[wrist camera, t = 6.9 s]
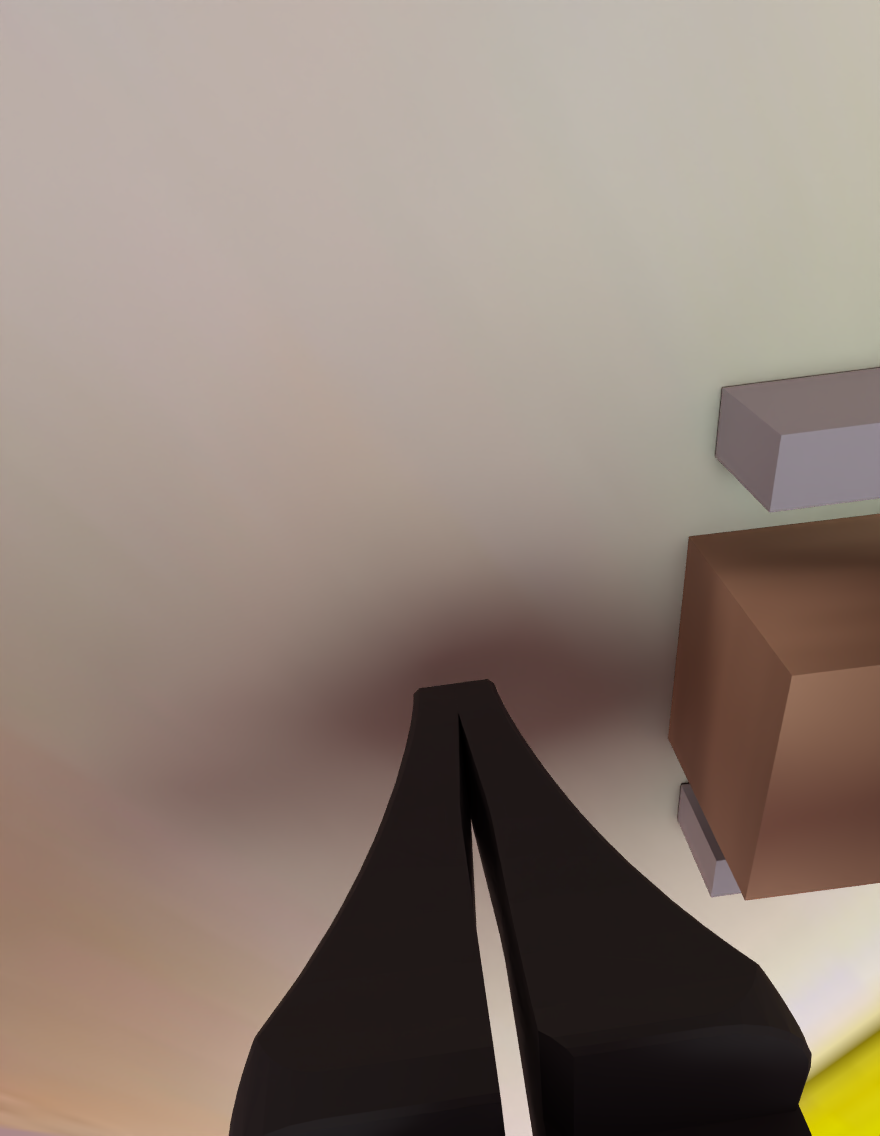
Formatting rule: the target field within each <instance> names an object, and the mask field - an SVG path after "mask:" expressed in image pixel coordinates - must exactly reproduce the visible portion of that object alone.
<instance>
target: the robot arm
mask: <svg viewBox="0 0 880 1136" xmlns="http://www.w3.org/2000/svg"><path fill="white" fill-rule="evenodd" d="M471 821H472V825H473V829H474V833H475V837H476V841H477V845H478V849H479V853H480V858H481V862H482V866H483V869H484V873H485V877H486V881H487V885H488V889H489V893H490V897H491V901H492V905H493V909H494V913H495V917H496V921H497V925H498V929H499V933H500V938H501V943H502V947H503V952H504V957H505V962H506V968H507V975H508V981H509V987H510V993H511V999H512V1006H513V1012H514V1018H515V1025H516V1031H517V1037H518V1044H519V1050H520V1056H521V1063H522V1069H523V1075H524V1082H525V1088H526V1094H527V1101H528V1107H529V1114H530V1120H531V1127H532V1133H533V1136H812V1135H811V1132H810V1130H809V1128H808V1126H807V1123H806V1121H805V1119H804V1116H803V1114H802V1112H801V1109H800V1107H799V1105H798V1104H799V1101H800V1098H801V1095H802V1092H803V1089H804V1086H805V1083H806V1080H807V1077H808V1074H809V1071H810V1068H811V1055H812V1053H811V1052H810V1050H809V1048H808V1045H807V1043H806V1040H805V1037H804V1035H803V1033H802V1031H801V1029H800V1027H799V1025H798V1024H797V1022H796V1020H795V1019H794V1017H793V1015H792V1014H791V1012H790V1010H789V1009H788V1007H787V1005H786V1004H785V1002H784V1001H783V999H782V997H781V996H780V994H779V993H778V991H777V990H776V988H775V987H774V985H773V984H772V982H771V981H770V980H769V978H768V977H767V975H766V974H765V972H764V971H763V970H762V968H761V967H760V966H759V965H758V964H757V963H756V962H754V961H753V960H751V959H750V958H748V957H747V956H745V955H744V954H742V953H741V952H740V951H738V950H737V949H735V948H734V947H732V946H731V945H730V944H728V943H727V942H725V941H724V940H723V939H721V938H720V937H719V936H717V935H716V934H715V933H713V932H712V931H710V930H709V929H708V928H706V927H705V926H704V925H702V924H701V923H700V922H699V921H697V920H696V919H695V918H694V917H692V916H691V915H690V914H688V913H687V912H686V911H685V910H683V909H682V908H681V907H680V906H678V905H677V904H676V903H675V902H673V901H672V900H671V899H670V898H669V897H668V896H666V895H665V894H664V893H663V892H662V891H661V890H660V889H658V888H657V887H656V886H655V885H654V884H653V883H652V882H650V881H649V880H648V879H647V878H646V877H645V876H644V875H642V874H641V873H640V872H639V871H638V870H637V869H636V868H634V867H633V866H632V865H631V864H630V863H629V862H628V861H627V860H626V859H625V858H624V857H623V856H622V855H621V854H620V853H619V852H618V851H617V850H616V849H615V848H614V847H613V846H612V845H611V844H610V843H609V842H608V841H607V840H606V839H605V838H604V837H603V836H602V835H601V834H600V833H599V832H598V831H597V830H596V829H595V828H594V827H593V826H592V825H591V824H590V823H589V821H588V820H587V819H586V818H585V817H584V816H583V815H582V814H581V813H580V811H579V810H578V809H577V808H576V807H575V806H574V804H573V803H572V802H571V801H570V800H569V799H568V797H567V796H566V795H565V794H564V792H563V791H562V790H561V789H560V787H559V786H558V785H557V784H556V783H555V781H554V780H553V779H552V777H551V776H550V775H549V773H548V772H547V771H546V769H545V768H544V767H543V765H542V764H541V763H540V761H539V760H538V758H537V757H536V755H535V754H534V753H533V751H532V750H531V748H530V747H529V746H528V744H527V743H526V741H525V740H524V738H523V737H522V735H521V734H520V732H519V730H518V729H517V727H516V725H515V724H514V722H513V721H512V719H511V717H510V715H509V714H508V712H507V710H506V708H505V707H504V705H503V703H502V701H501V699H500V697H499V694H498V692H497V690H496V688H495V685H494V683H492V682H491V681H489V680H488V679H485V680H478V681H471V682H463V683H456V684H449V685H441V686H434V687H427V688H419V689H418V690H417V691H416V692H415V693H414V704H413V713H412V720H411V726H410V731H409V735H408V740H407V744H406V748H405V752H404V755H403V759H402V762H401V766H400V769H399V773H398V776H397V780H396V783H395V786H394V789H393V792H392V794H391V797H390V800H389V803H388V805H387V808H386V811H385V814H384V816H383V819H382V822H381V824H380V827H379V829H378V832H377V834H376V837H375V839H374V841H373V844H372V846H371V848H370V850H369V853H368V855H367V857H366V859H365V861H364V863H363V865H362V868H361V870H360V872H359V874H358V876H357V878H356V880H355V882H354V884H353V885H352V887H351V889H350V891H349V893H348V895H347V897H346V899H345V901H344V903H343V905H342V907H341V908H340V910H339V912H338V914H337V915H336V917H335V919H334V921H333V922H332V924H331V926H330V928H329V929H328V931H327V932H326V934H325V936H324V937H323V939H322V940H321V942H320V944H319V945H318V947H317V948H316V950H315V952H314V953H313V955H312V956H311V958H310V960H309V961H308V963H307V964H306V966H305V968H304V969H303V971H302V972H301V974H300V975H299V977H298V978H297V980H296V981H295V983H294V984H293V985H292V987H291V988H290V990H289V991H288V992H287V994H286V995H285V996H284V998H283V999H282V1001H281V1002H280V1003H279V1005H278V1006H277V1007H276V1009H275V1010H274V1012H273V1013H272V1014H271V1016H270V1017H269V1018H268V1020H267V1021H266V1023H265V1024H264V1025H263V1027H262V1028H261V1029H260V1031H259V1032H258V1033H257V1035H256V1036H255V1038H254V1041H253V1044H252V1046H251V1049H250V1052H249V1055H248V1058H247V1061H246V1064H245V1067H244V1070H243V1074H242V1077H241V1081H240V1084H239V1087H238V1091H237V1095H236V1100H235V1104H234V1108H233V1113H232V1118H231V1123H230V1131H229V1136H505V1130H504V1122H503V1113H502V1105H501V1097H500V1090H499V1083H498V1076H497V1069H496V1062H495V1055H494V1047H493V1041H492V1034H491V1027H490V1020H489V1013H488V1006H487V999H486V993H485V986H484V979H483V972H482V965H481V958H480V951H479V944H478V937H477V930H476V910H475V891H474V871H473V852H472V833H471Z"/></svg>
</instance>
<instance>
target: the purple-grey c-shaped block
mask: <svg viewBox="0 0 880 1136" xmlns="http://www.w3.org/2000/svg"><path fill="white" fill-rule="evenodd" d="M715 457H716V458H717V459H718V460H719V461H720V462H721V463H722V464H723V465H724V466H725V467H726V468H727V469H728V470H729V471H730V472H731V473H732V474H733V475H734V476H735V478H736V479H737V480H738V481H739V482H740V483H741V484H742V485H743V486H744V487H745V488H746V489H747V490H748V491H749V492H750V493H751V494H752V495H753V496H754V497H755V498H756V499H757V500H758V501H759V502H760V503H761V504H762V505H763V506H764V507H765V508H766V509H767V510H768V511H769V512H777V511H784V510H792V509H800V508H807V507H815V506H823V505H830V504H838V503H846V502H853V501H861V500H869V499H876V498H880V368H873V369H865V370H858V371H850V372H842V373H834V374H826V375H818V376H810V377H802V378H794V379H787V380H779V381H771V382H763V383H755V384H747V385H739V386H731V387H724V388H722V398H721V407H720V417H719V427H718V436H717V446H716V455H715ZM678 822H679V825H680V827H681V829H682V832H683V834H684V836H685V838H686V841H687V843H688V845H689V848H690V850H691V852H692V855H693V857H694V859H695V861H696V864H697V866H698V868H699V871H700V873H701V875H702V878H703V880H704V882H705V884H706V887H707V889H708V891H709V894H710V896H711V897H717V896H724V895H731V894H738V893H741V891H740V889H739V887H738V885H737V882H736V880H735V878H734V876H733V874H732V872H731V870H730V868H729V866H728V864H727V861H726V859H725V857H724V855H723V853H722V851H721V849H720V847H719V845H718V842H717V840H716V838H715V836H714V834H713V832H712V830H711V828H710V826H709V823H708V821H707V819H706V817H705V815H704V813H703V811H702V809H701V807H700V805H699V802H698V800H697V798H696V796H695V794H694V792H693V790H692V788H691V786H690V784H683V785H681V792H680V802H679V811H678Z"/></svg>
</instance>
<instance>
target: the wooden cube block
mask: <svg viewBox="0 0 880 1136" xmlns="http://www.w3.org/2000/svg"><path fill="white" fill-rule="evenodd" d="M668 739H669V741H670V743H671V746H672V748H673V750H674V752H675V754H676V756H677V758H678V760H679V762H680V764H681V767H682V769H683V771H684V773H685V775H686V777H687V779H688V781H689V783H690V786H691V788H692V790H693V792H694V794H695V796H696V798H697V800H698V802H699V805H700V807H701V809H702V811H703V813H704V815H705V817H706V819H707V821H708V823H709V826H710V828H711V830H712V832H713V834H714V836H715V838H716V840H717V842H718V845H719V847H720V849H721V851H722V853H723V855H724V857H725V859H726V861H727V864H728V866H729V868H730V870H731V872H732V874H733V876H734V878H735V880H736V882H737V885H738V887H739V889H740V891H741V893H742V895H743V897H744V899H745V900H753V899H760V898H768V897H775V896H783V895H791V894H798V893H806V892H813V891H821V890H829V889H836V888H844V887H851V886H859V885H867V884H874V883H880V514H873V515H865V516H857V517H848V518H840V519H831V520H823V521H815V522H806V523H798V524H790V525H781V526H773V527H765V528H756V529H748V530H740V531H731V532H723V533H715V534H706V535H698V536H689V541H688V550H687V560H686V570H685V579H684V589H683V599H682V608H681V618H680V628H679V637H678V647H677V657H676V666H675V676H674V686H673V695H672V705H671V714H670V724H669V734H668Z"/></svg>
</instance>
